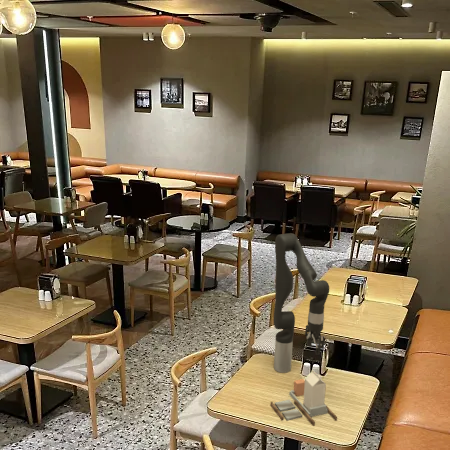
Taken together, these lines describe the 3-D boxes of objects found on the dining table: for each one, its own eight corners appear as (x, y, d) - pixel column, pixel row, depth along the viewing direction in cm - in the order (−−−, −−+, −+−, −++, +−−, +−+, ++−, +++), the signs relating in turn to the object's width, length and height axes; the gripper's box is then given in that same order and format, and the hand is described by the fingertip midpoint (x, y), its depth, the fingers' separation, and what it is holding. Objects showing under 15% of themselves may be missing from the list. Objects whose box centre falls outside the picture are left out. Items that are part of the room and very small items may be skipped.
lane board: (270, 405, 230) (270, 402, 229) (314, 395, 238) (314, 392, 238) (290, 431, 212) (290, 427, 211) (336, 420, 220) (337, 416, 219)
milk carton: (310, 415, 223) (313, 378, 219) (302, 406, 230) (305, 370, 225) (323, 412, 226) (326, 376, 221) (315, 403, 232) (318, 368, 227)
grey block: (288, 394, 239) (289, 381, 237) (306, 390, 243) (307, 378, 241) (308, 417, 221) (309, 404, 220) (327, 413, 225) (328, 399, 223)
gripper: (301, 314, 238) (299, 344, 242) (316, 327, 225) (314, 358, 229) (315, 312, 241) (312, 342, 245) (330, 325, 228) (327, 356, 232)
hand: (313, 349), depth 237 cm, fingers open, 8 cm apart
